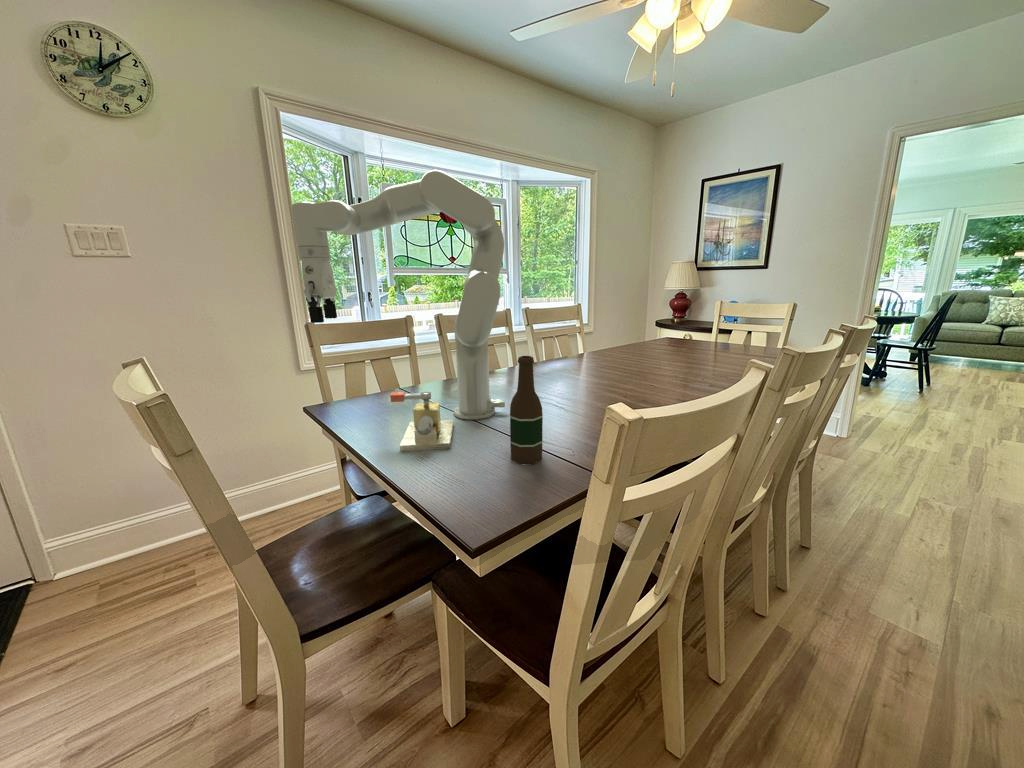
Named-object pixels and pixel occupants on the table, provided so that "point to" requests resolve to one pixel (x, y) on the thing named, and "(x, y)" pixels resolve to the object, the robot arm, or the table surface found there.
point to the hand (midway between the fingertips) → (324, 320)
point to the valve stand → (427, 429)
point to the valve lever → (409, 396)
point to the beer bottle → (526, 417)
